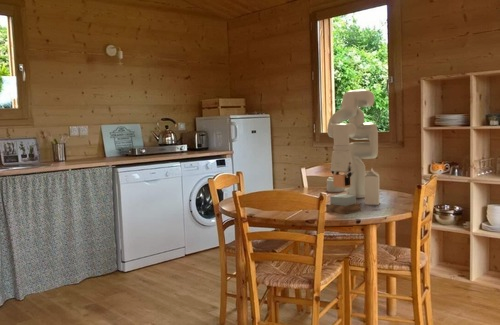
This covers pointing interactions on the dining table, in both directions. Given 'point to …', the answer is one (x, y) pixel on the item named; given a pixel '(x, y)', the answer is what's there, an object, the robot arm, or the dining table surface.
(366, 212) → the dining table surface
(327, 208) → the base block
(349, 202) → the grey square block
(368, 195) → the milk carton
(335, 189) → the lumpy-topped squat cylinder
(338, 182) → the orange cube
